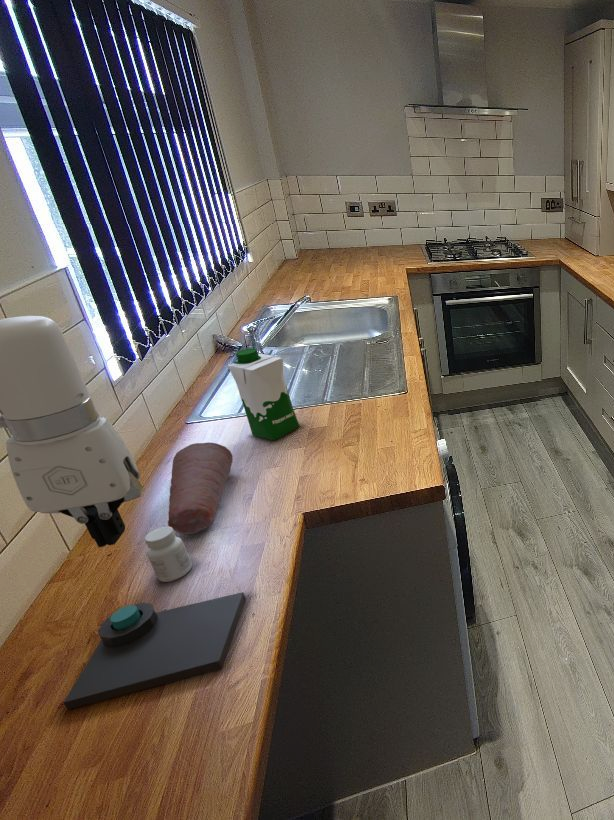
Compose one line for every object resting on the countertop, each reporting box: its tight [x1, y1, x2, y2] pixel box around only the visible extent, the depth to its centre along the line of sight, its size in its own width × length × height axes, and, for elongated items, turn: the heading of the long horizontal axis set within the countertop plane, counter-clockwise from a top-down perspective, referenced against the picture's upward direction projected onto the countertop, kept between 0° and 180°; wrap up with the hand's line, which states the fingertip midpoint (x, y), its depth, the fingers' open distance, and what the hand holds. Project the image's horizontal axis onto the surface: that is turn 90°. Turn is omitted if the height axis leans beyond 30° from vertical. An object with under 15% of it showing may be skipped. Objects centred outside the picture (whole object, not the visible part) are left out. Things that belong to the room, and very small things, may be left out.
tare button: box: [109, 604, 141, 630], centre depth 71 cm, size 3×3×2 cm
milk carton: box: [227, 348, 301, 442], centre depth 120 cm, size 9×9×20 cm
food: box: [167, 442, 234, 535], centre depth 97 cm, size 21×9×9 cm, turn 32°
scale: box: [63, 591, 247, 711], centre depth 70 cm, size 16×13×3 cm
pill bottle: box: [144, 525, 193, 583], centre depth 81 cm, size 4×4×8 cm
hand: (112, 538), depth 70 cm, fingers closed
